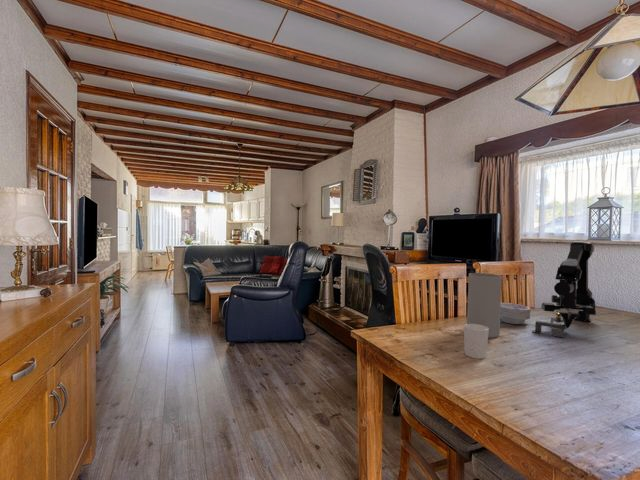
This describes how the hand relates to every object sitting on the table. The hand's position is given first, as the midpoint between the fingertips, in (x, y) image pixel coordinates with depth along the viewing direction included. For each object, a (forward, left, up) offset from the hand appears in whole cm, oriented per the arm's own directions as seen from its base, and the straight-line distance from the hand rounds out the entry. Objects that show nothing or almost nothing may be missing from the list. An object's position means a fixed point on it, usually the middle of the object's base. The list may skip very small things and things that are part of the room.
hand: (567, 327), depth 149 cm
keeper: (+12, -5, -2) cm, 13 cm away
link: (+1, -3, -1) cm, 4 cm away
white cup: (+60, -22, -2) cm, 63 cm away
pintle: (-8, -4, -2) cm, 9 cm away
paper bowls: (0, -22, -2) cm, 22 cm away
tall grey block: (+30, -27, -2) cm, 41 cm away
